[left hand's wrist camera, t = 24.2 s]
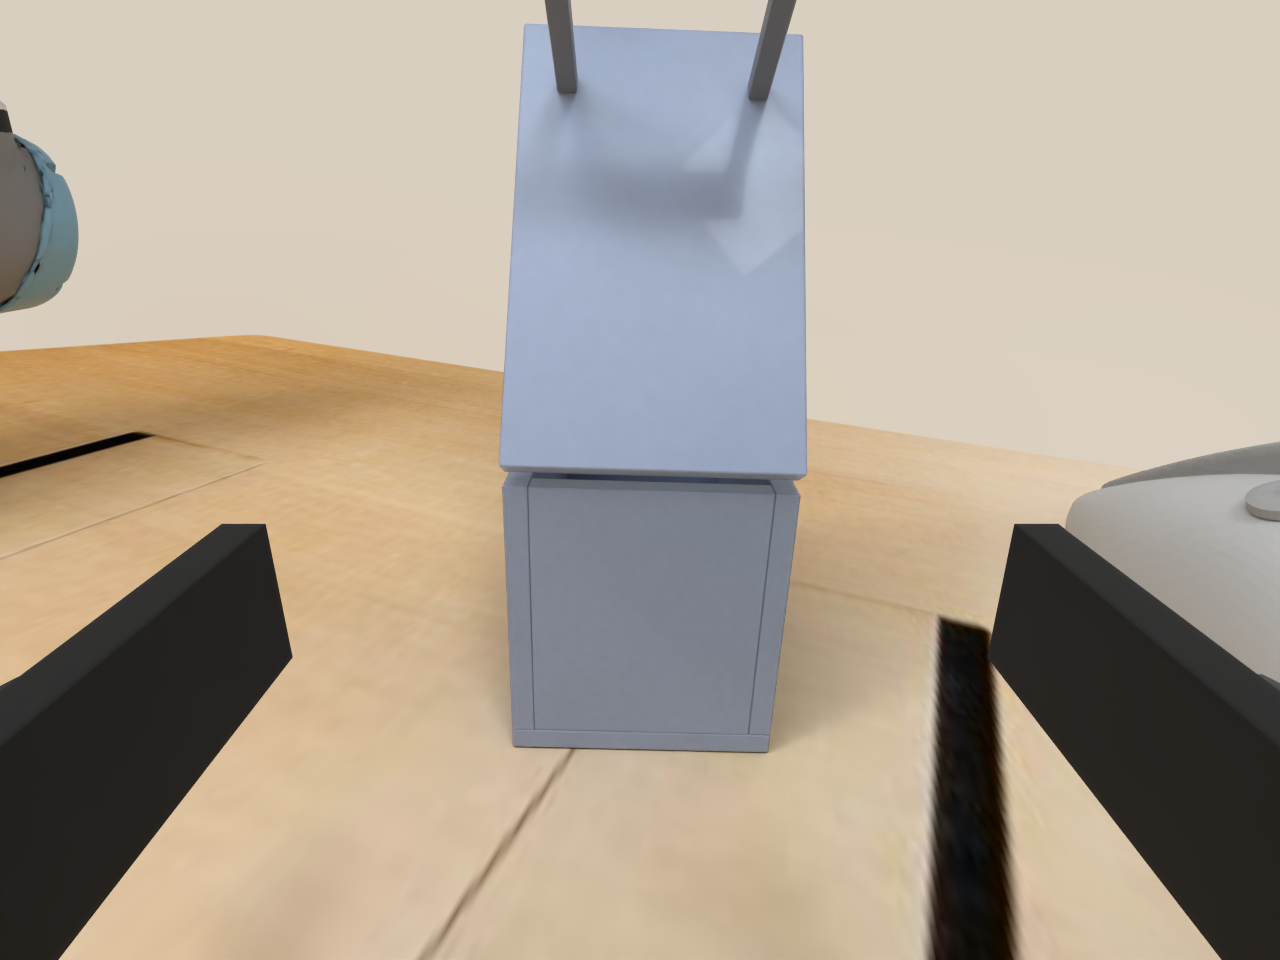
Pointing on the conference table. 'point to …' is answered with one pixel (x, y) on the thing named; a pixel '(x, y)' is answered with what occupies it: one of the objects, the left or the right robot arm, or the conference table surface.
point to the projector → (1200, 544)
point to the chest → (646, 609)
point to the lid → (658, 253)
